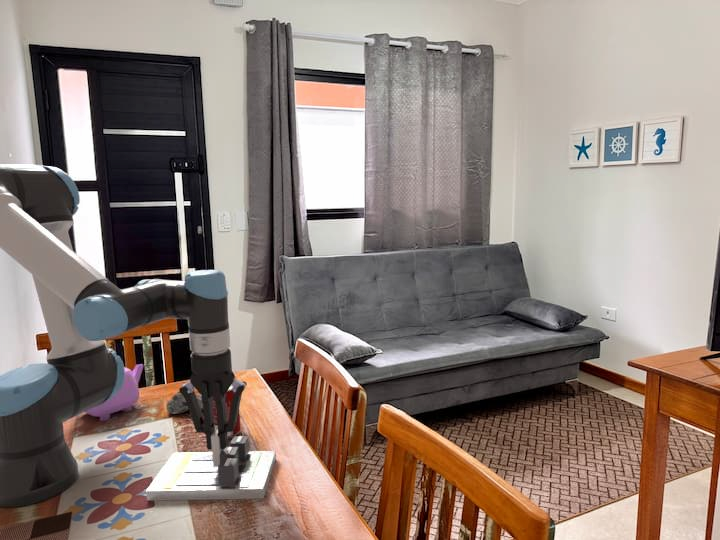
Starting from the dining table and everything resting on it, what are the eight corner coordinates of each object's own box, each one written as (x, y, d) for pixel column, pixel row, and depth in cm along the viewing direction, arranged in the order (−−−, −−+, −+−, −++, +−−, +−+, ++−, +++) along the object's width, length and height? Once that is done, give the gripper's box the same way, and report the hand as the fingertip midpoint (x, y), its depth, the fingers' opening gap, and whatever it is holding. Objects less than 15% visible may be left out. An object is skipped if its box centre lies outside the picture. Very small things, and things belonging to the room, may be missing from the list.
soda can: (233, 442, 117) (229, 393, 115) (206, 440, 119) (202, 391, 117) (245, 429, 124) (242, 382, 122) (219, 427, 125) (216, 380, 123)
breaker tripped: (220, 471, 100) (219, 453, 100) (224, 463, 103) (223, 446, 103) (235, 470, 100) (234, 453, 100) (239, 462, 103) (238, 445, 103)
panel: (147, 500, 96) (146, 489, 95) (174, 461, 109) (173, 452, 109) (263, 498, 95) (262, 487, 95) (276, 459, 109) (275, 450, 109)
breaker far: (231, 459, 105) (230, 442, 104) (234, 451, 108) (233, 435, 107) (245, 458, 105) (244, 442, 104) (249, 451, 108) (248, 435, 107)
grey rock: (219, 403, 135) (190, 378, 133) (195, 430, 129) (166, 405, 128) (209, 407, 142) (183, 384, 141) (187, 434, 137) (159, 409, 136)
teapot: (84, 431, 125) (79, 382, 123) (61, 418, 132) (55, 372, 130) (158, 402, 141) (154, 358, 139) (133, 393, 148) (129, 351, 146)
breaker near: (219, 484, 96) (217, 466, 95) (223, 475, 99) (222, 457, 98) (234, 483, 96) (233, 465, 95) (238, 475, 99) (237, 457, 98)
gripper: (169, 357, 94) (179, 474, 98) (239, 355, 94) (246, 472, 98) (183, 345, 102) (192, 454, 106) (248, 343, 102) (254, 453, 105)
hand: (218, 463), depth 102 cm, fingers closed
